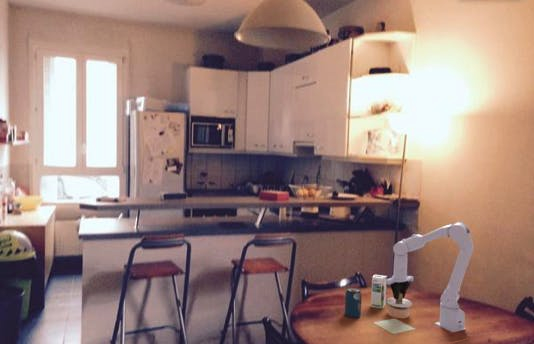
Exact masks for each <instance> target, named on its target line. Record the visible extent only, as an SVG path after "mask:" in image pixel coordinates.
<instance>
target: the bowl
mask: <svg viewBox="0 0 534 344" xmlns="http://www.w3.org/2000/svg"><path fill="white" fill-rule="evenodd" d="M387 315H388V316H390V317H392V318H395V319H408V318H409V316H410V307H407V308H400V307H394V306H391V305H389V304H387Z"/></svg>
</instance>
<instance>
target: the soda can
mask: <svg viewBox="0 0 534 344" xmlns="http://www.w3.org/2000/svg"><path fill="white" fill-rule="evenodd" d="M362 295H363V294H362V291H361V289H360V288H358V287H348V288H347V290H346V291H345V298H344V299H345V300H344V301H345V303H344V314H345V316H346V317H347V318H351V319H358V318H360V316H361V314H362Z"/></svg>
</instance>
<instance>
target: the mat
mask: <svg viewBox="0 0 534 344" xmlns="http://www.w3.org/2000/svg"><path fill="white" fill-rule="evenodd" d="M373 324H375V325H377V326H378V327H380V328H382V329H384V330H385V331H387V332H389V333H390V334H392V335H395V334H400V333H404V332H408V331H413V330H416V328H415V327H412V326H411V325H409V324H407V323H405V322H403V321H401V320H399V319H398V318H395V317H393V318H390V319H385V320H380V321H375V322H373Z"/></svg>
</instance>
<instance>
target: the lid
mask: <svg viewBox="0 0 534 344" xmlns="http://www.w3.org/2000/svg"><path fill="white" fill-rule="evenodd" d="M385 304H387V305H388V304H389V305H391V306H394V307H400V308H407V307H409V308H411V307H412V305H413V303H412V301H411V300H409V299H407V298H405V297H404V298H403V293H402V292H399V298H398V299H394V296H392V297H388V298H386V301H385Z"/></svg>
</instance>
